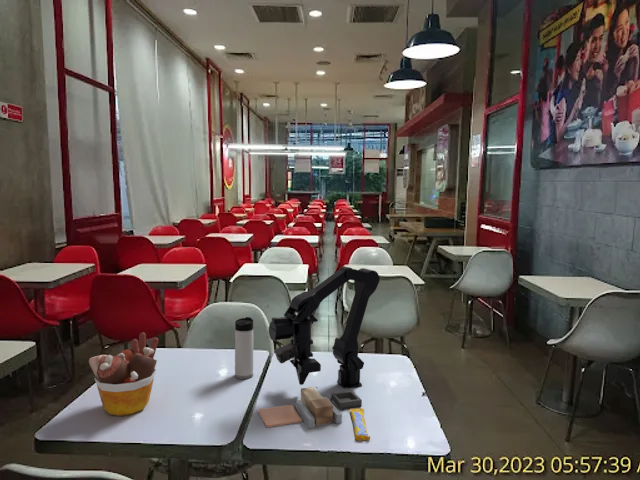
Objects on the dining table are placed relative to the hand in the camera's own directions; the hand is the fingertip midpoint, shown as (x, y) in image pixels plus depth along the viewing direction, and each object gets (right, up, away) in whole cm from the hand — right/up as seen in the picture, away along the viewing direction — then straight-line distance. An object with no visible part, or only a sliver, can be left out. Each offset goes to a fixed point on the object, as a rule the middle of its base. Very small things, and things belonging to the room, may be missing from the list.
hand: (301, 384), depth 145 cm
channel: (+5, -5, -14) cm, 16 cm away
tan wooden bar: (+3, -4, -9) cm, 11 cm away
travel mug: (-20, -2, +14) cm, 25 cm away
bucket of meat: (-50, -3, -11) cm, 52 cm away
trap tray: (+14, -4, -6) cm, 15 cm away
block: (+6, -5, -16) cm, 18 cm away
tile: (-6, -4, -15) cm, 17 cm away
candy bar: (+17, -6, -19) cm, 26 cm away
